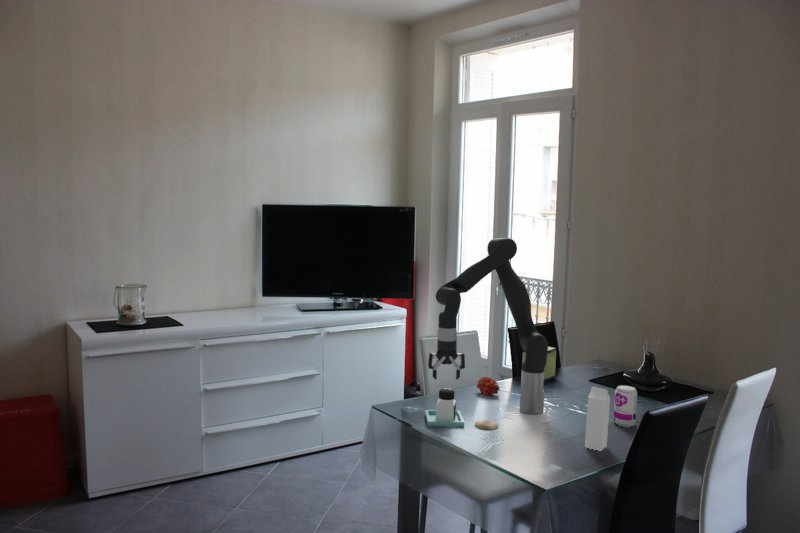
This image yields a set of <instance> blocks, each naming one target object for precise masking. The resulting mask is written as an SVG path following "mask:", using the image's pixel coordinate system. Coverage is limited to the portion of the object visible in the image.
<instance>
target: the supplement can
mask: <svg viewBox="0 0 800 533" xmlns="http://www.w3.org/2000/svg"><path fill="white" fill-rule="evenodd" d="M637 401H638V391H637V388H636V387H635V386H630V385H626V384H625V385H622V384H620V385H618V386H617V387H616V389H615V393H614V406H613V421H614V422H613V423H614V424H615V423H616V424H619V425H622V426H633V425H634V426H635V425H636V414H637V403H638V402H637ZM616 424H615V425H616ZM634 426H633V427H634Z"/></svg>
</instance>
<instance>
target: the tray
mask: <svg viewBox="0 0 800 533" xmlns="http://www.w3.org/2000/svg"><path fill="white" fill-rule="evenodd" d="M424 416H425V419H426V424H427V427H429V428H431V427H433V428H435V427H436V428H465V420H464V418H463V415H462V413H461V410H459V409H456V416H455V420H454V421H436V409H424Z"/></svg>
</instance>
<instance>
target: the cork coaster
mask: <svg viewBox="0 0 800 533" xmlns="http://www.w3.org/2000/svg"><path fill="white" fill-rule="evenodd" d="M474 426H475V427H476V428H477V429H479V430H480V429H481V430H484V431H494V430H497V429H498V428H499V424H498V423H497V422H495V421H492V420H477V421H476V422H474Z"/></svg>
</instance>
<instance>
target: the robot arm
mask: <svg viewBox="0 0 800 533" xmlns="http://www.w3.org/2000/svg"><path fill="white" fill-rule="evenodd" d="M486 251H487V256H485V257H484V258H483V259H481V260H479V261H477V262H475V263H474V264H472V265H471V266H469V267H467V268H465V270H463V272H461V273H460V274H459V275H458V276H456V278H453V279H452V280H450V281H448V282H446V283H444V284H442V285H441V286H440V287H439V288H438V289H437V291H436V293H435V300H436V302H437V303H438V304H440V305H443V306H444V309H443V311H441V312H440V313H439V314H438V326H437V327H438V329H437V347H436V349H437V350H436V352H432V351H431V352H429V353H428V361H427V362H428V363H427V366H428V369H430V370H432V377H433V379H434V380H437V375H438V374H437V371H438V370H437V369H438V368H439V367H440V366H441V365H451V364H453V365H454V367H455V379H456V380H459V379H461V370H462V369H465V368H466V360H465V359H466V358H465V357H466V356H465V355H466V354H465V353H464V352H459V353H458V352H457V346H458V345H457V343H458V331H457V326H458V324H457V321H458V320H457V316H458V314H459V310H460V307H461V302H462V297H461V294H463V293H467V292H469V291H470V290H471V289H473V288H474V287H475V286H476V285H477V284H478V283H479V282H480V281H482V279H484V278H485V277H487V276H488V275H489V274H490V273H492V272H493V271H494V270H495V272H496V275H497V276H498V279H499V280H498V281H499V283H500V285H501V288H502V290H503V294H504V297H505V299H506V302H507V305H508V308H509V310H510V314H511V315H512V318H513V320H514V323H515V325H516V329H517V332H518V333H517V335H518V338H519V343H520V346H521V348H522V350H523V349H524V350H525V351H526V359H525V362H523V363H522V362H521V377H520V378H521V380H520V394H519V395H520V396H519V411H520V412H522V413H525V414H528V415H529V414H531V415H538V414H543V413H544V407H545V406H544V405H545V390H544V383H545V382H544V368H545V366H546V362H547V352H548V346H549V345H548V344H549V343H548V340H547V338H546V337H545V336H544V335H542V334H541V333H539V332H538V330H537V327H536V326H535V323H534V321H533V317H532V303H531V299H530V295H529V292H528V289H527V286H526V285H525V283H524V282H523V280H522V278H520V277H519V275H518V274H517V273H516V271H515V270H514V268H513V267H512V265H511V259H513V258H514V257H515V256H516V254H517V251H518V246H517V243H516V242H515V240H514V239H512V238H510V237H497V238H492V239H491V240H490V241H489V242H488V243H487V249H486ZM435 357H436V359H437V360H436V361H435V363H434V364H433V360H434V358H435ZM458 358H459V359H460V365H459V364H458V362H457V361H456V359H458Z"/></svg>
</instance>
